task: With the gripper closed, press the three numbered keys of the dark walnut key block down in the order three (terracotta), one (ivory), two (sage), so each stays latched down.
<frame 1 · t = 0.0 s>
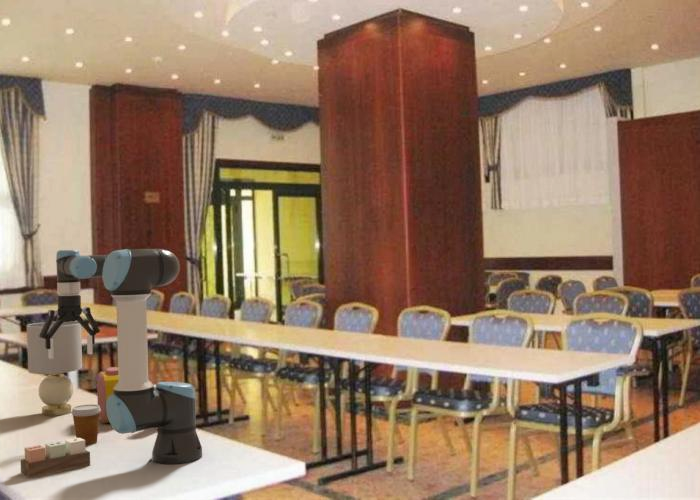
hand: (70, 356, 272), 28 cm above the table, fingers open, 13 cm apart
key three: (35, 455, 230), point 5 cm above the table, slide at 0.0 cm
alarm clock: (114, 420, 297), on the table
disposable coffee cup: (87, 443, 264), on the table
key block: (56, 469, 235), on the table
key one: (75, 447, 238), point 5 cm above the table, slide at 0.0 cm
beverage can: (160, 427, 284), on the table
key two: (55, 451, 234), point 5 cm above the table, slide at 0.0 cm
lamp: (56, 413, 312), on the table
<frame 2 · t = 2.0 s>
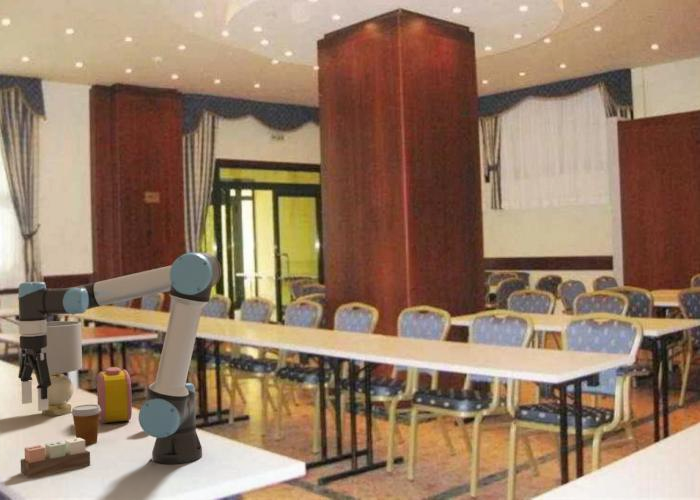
hand: (35, 406, 232), 19 cm above the table, fingers open, 13 cm apart
nothing on the table moved.
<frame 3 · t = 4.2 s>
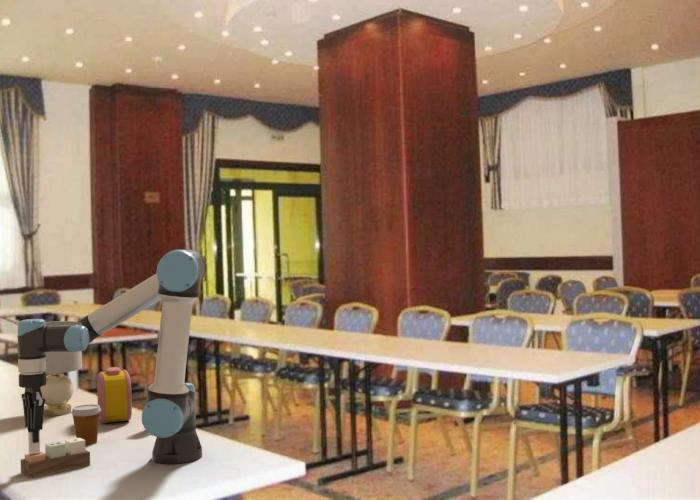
hand: (34, 452, 230), 6 cm above the table, fingers closed
key three: (35, 461, 231), point 3 cm above the table, slide at 1.9 cm, touching gripper
everything else where it was.
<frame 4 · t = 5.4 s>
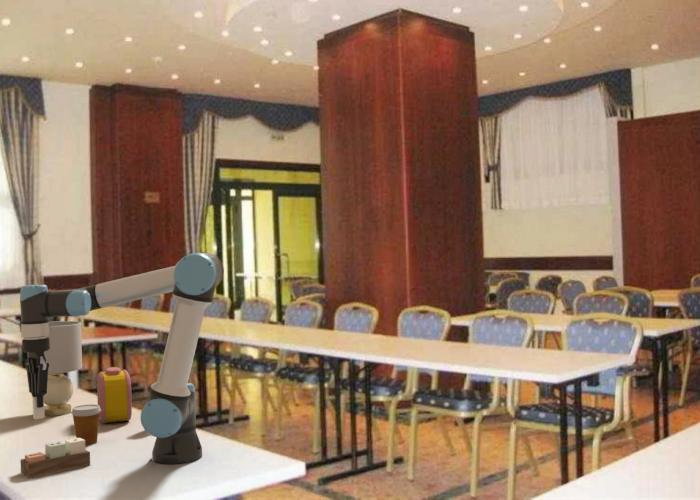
hand: (38, 418, 231), 16 cm above the table, fingers closed
key three: (35, 462, 231), point 3 cm above the table, slide at 2.1 cm
everything else where it was.
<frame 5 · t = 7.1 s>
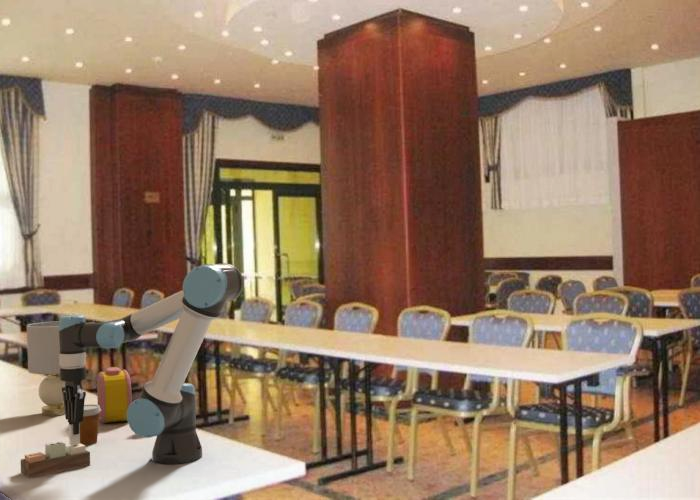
hand: (74, 444, 238), 6 cm above the table, fingers closed
key one: (75, 452, 238), point 4 cm above the table, slide at 1.7 cm, touching gripper
everything else where it was.
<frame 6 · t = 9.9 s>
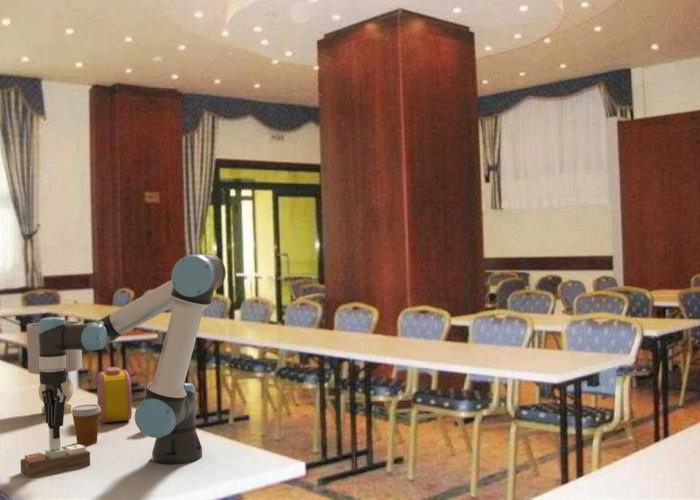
hand: (54, 448, 234), 6 cm above the table, fingers closed
key one: (75, 454, 238), point 3 cm above the table, slide at 2.1 cm
key two: (55, 457, 234), point 3 cm above the table, slide at 1.8 cm, touching gripper
everything else where it was.
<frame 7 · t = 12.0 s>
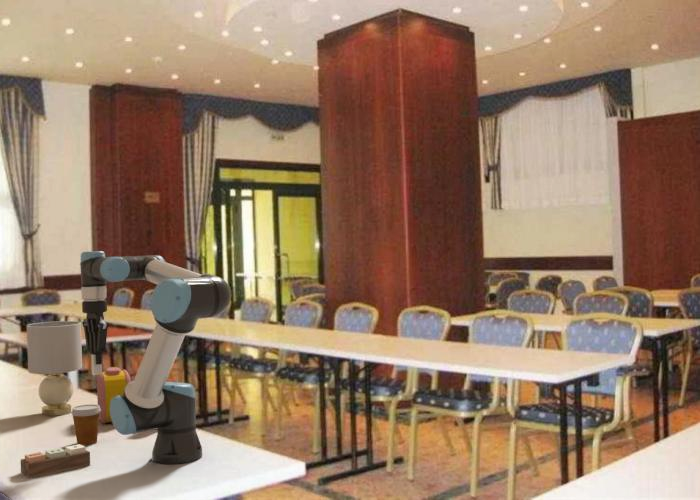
hand: (97, 374, 250), 25 cm above the table, fingers closed
key two: (55, 458, 234), point 3 cm above the table, slide at 2.1 cm
everything else where it was.
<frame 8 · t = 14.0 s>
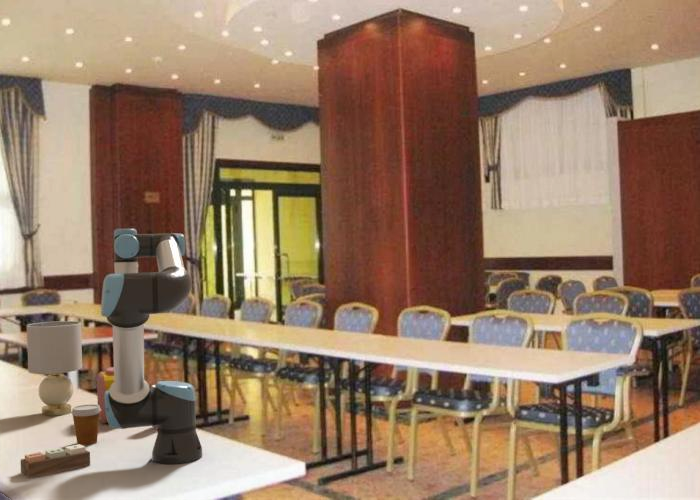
hand: (128, 345, 263), 32 cm above the table, fingers closed
nothing on the table moved.
at the end: key three slide at 2.1 cm; key one slide at 2.1 cm; key two slide at 2.1 cm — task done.
